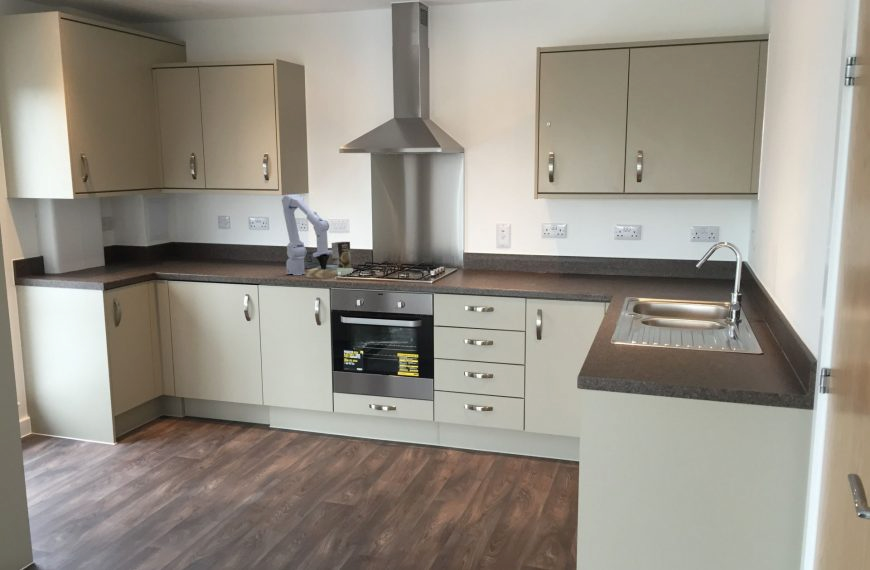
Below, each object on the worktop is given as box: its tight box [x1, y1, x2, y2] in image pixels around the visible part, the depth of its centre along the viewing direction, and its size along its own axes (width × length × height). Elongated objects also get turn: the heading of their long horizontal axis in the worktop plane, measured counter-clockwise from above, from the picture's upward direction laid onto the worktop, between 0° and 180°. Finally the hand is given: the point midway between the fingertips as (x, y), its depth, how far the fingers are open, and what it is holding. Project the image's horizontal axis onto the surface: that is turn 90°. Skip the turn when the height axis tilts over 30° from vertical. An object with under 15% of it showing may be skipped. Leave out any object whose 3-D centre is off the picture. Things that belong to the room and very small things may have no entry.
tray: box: [337, 267, 355, 277], centre depth 401 cm, size 14×11×2 cm
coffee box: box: [331, 241, 352, 268], centre depth 414 cm, size 9×6×16 cm
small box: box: [304, 250, 320, 270], centre depth 426 cm, size 11×6×10 cm, turn 80°
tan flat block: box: [305, 268, 338, 279], centre depth 393 cm, size 13×11×4 cm
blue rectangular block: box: [318, 264, 338, 270], centre depth 394 cm, size 9×6×2 cm, turn 61°
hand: (323, 268), depth 391 cm, fingers closed
